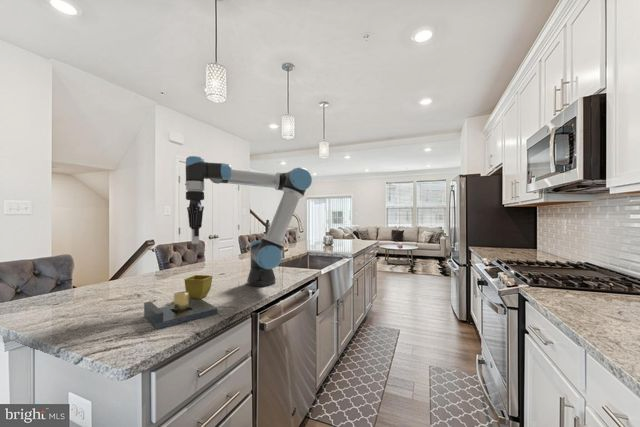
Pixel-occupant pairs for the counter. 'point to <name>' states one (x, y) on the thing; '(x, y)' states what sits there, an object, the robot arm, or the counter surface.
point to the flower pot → (198, 285)
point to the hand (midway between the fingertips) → (195, 243)
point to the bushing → (181, 302)
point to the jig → (168, 317)
